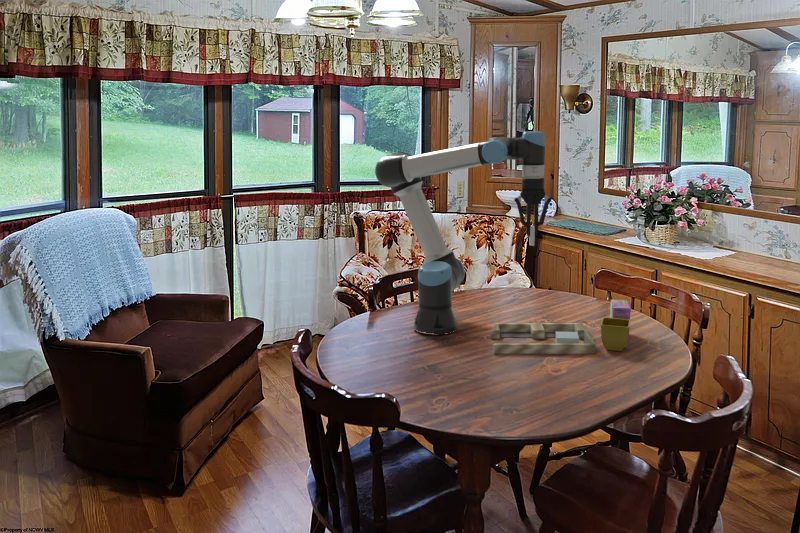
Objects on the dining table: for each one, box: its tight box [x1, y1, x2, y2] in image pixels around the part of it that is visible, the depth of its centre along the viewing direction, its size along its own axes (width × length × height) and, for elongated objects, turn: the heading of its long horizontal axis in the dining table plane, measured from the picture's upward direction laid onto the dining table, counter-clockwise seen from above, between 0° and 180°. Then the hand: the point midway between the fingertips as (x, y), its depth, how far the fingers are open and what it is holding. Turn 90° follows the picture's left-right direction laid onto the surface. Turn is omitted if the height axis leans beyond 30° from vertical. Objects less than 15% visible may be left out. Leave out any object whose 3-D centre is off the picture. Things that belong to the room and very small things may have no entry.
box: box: [609, 299, 631, 343], centre depth 249 cm, size 10×6×12 cm, turn 168°
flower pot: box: [600, 317, 631, 352], centre depth 238 cm, size 9×9×9 cm
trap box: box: [490, 322, 597, 355], centre depth 246 cm, size 32×23×3 cm
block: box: [554, 331, 580, 344], centre depth 242 cm, size 7×7×4 cm
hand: (531, 245), depth 258 cm, fingers closed
